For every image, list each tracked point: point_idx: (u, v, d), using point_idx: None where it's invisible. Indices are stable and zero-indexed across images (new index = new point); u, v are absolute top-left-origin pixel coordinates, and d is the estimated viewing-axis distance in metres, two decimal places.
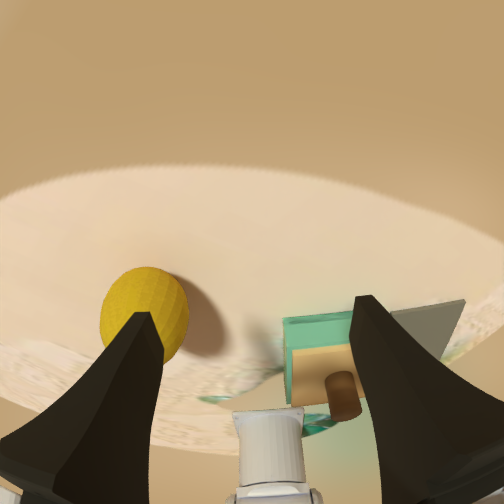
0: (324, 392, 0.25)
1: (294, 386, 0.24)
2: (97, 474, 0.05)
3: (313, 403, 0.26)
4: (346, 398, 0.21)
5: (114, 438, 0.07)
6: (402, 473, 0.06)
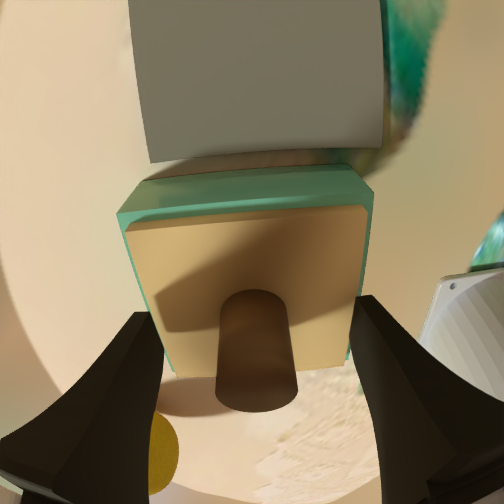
0: (300, 329, 0.12)
1: None
2: (97, 474, 0.05)
3: (343, 338, 0.13)
4: None
5: (114, 438, 0.07)
6: (402, 473, 0.06)
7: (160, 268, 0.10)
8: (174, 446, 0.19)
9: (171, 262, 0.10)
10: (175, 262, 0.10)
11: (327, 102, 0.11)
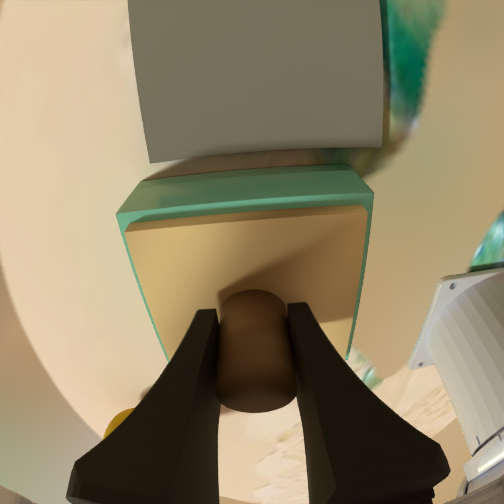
0: None
1: None
2: (192, 486, 0.05)
3: (343, 339, 0.13)
4: None
5: (200, 445, 0.07)
6: (316, 491, 0.06)
7: (160, 268, 0.10)
8: None
9: (171, 262, 0.10)
10: (175, 262, 0.10)
11: (327, 102, 0.11)
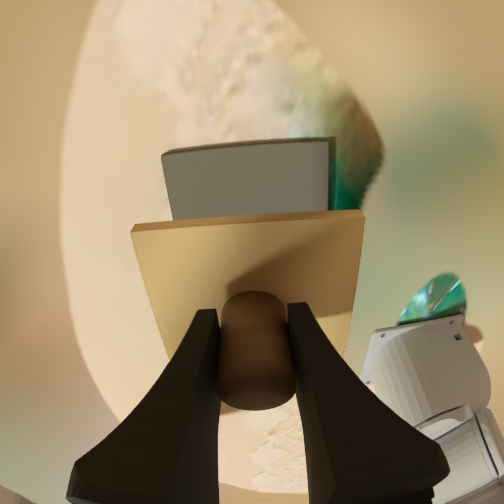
0: None
1: None
2: (192, 486, 0.05)
3: (340, 341, 0.13)
4: (218, 375, 0.10)
5: (199, 445, 0.07)
6: (316, 491, 0.06)
7: (164, 268, 0.11)
8: None
9: (175, 262, 0.11)
10: (178, 263, 0.11)
11: None
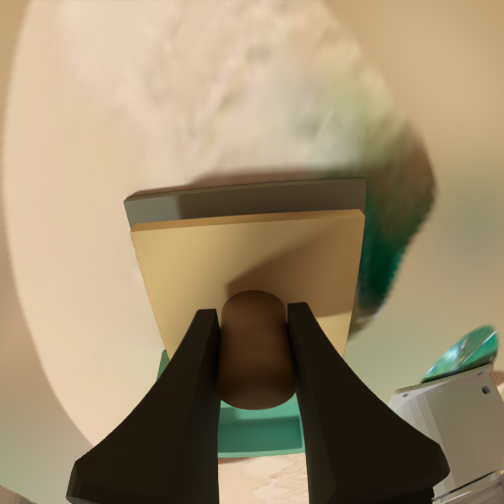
0: None
1: None
2: (192, 486, 0.05)
3: (340, 341, 0.13)
4: (217, 374, 0.10)
5: (199, 445, 0.07)
6: (316, 491, 0.06)
7: (164, 268, 0.11)
8: None
9: (175, 262, 0.11)
10: (178, 262, 0.11)
11: None
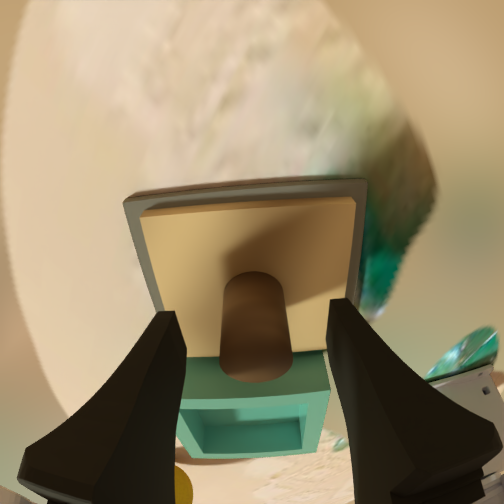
0: (296, 310, 0.13)
1: None
2: (131, 480, 0.05)
3: None
4: (220, 349, 0.11)
5: (145, 442, 0.07)
6: (370, 481, 0.06)
7: (170, 251, 0.12)
8: (190, 491, 0.22)
9: (181, 245, 0.12)
10: (184, 245, 0.12)
11: None
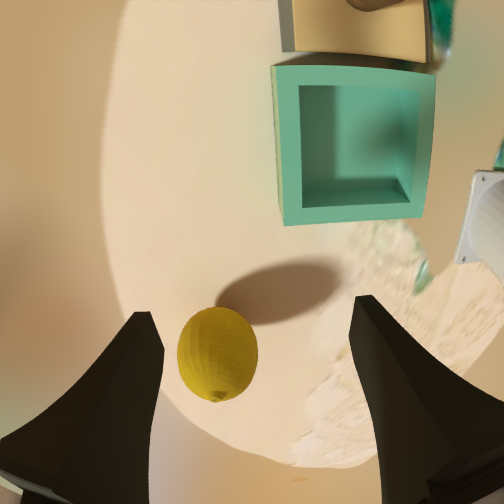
0: (393, 13, 0.12)
1: (370, 51, 0.14)
2: (97, 474, 0.05)
3: (421, 31, 0.13)
4: None
5: (114, 438, 0.07)
6: (402, 474, 0.06)
7: None
8: (255, 341, 0.21)
9: None
10: None
11: None
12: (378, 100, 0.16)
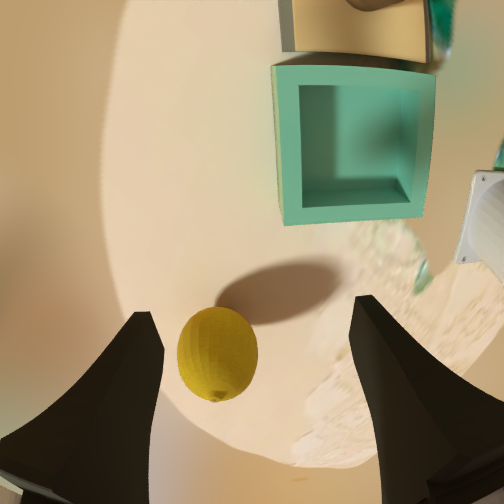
0: (393, 12, 0.12)
1: (370, 51, 0.14)
2: (97, 474, 0.05)
3: (421, 31, 0.13)
4: None
5: (114, 438, 0.07)
6: (402, 473, 0.06)
7: None
8: (255, 341, 0.21)
9: None
10: None
11: None
12: (378, 100, 0.16)
